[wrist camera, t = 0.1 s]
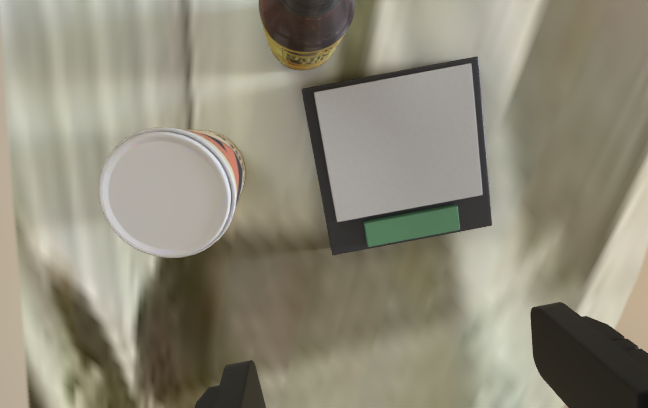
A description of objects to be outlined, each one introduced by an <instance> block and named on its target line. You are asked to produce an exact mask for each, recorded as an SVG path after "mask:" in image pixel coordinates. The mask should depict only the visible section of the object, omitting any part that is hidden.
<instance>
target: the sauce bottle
mask: <svg viewBox="0 0 648 408" xmlns="http://www.w3.org/2000/svg"><path fill="white" fill-rule="evenodd" d="M354 8H355V6H354V0H259V11H260V16H261V20H262V23H263V27H264V30H265V34H266V37H267V41H268V44H269V46H270V49H271V51H272V53H273V54H274V55H275V57H276V58H277V59H278V60H279V61H280V62H281V63H282V64H284V65H286V66H287V67H289V68H292V69H295V70H310V69H314V68H316V67H318V66H320V65H322V64H323V63H325V62H326V61H327V60H328V59H329V58H330V56H331V55H332V54H333V52H334V50H335V49H336V47H337V46H338V44H339V43H340V41H341V39H342V38H343V36H344V35H345V34H346V32H347V30H348V28H349V26H350V24H351V22H352V19H353V16H354Z"/></svg>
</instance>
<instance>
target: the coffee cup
mask: <svg viewBox="0 0 648 408" xmlns="http://www.w3.org/2000/svg"><path fill="white" fill-rule="evenodd" d="M245 175H246V169H245V164H244V160H243V157H242V155H241V153H240V152H239V150H238V148H237V147H236V146H235V145H234V144H233V143H232V142H231V141H230V140H229V139H227V138H226V137H224V136H222V135H220V134H217V133H215V132H210V131H203V130H186V129H176V128H169V127H157V128H150V129H146V130H142V131H139V132H137V133H134V134H132V135H131V136H129V137H127V138H125V139H124V140H123V141H121V142H120V143H119V144H118V145H117V146H116V147H115V148H114V149H113V150H112V152H111V153H110V154H109V156H108V157H107V159H106V161H105V163H104V165H103V168H102V171H101V176H100V182H99V197H100V203H101V207H102V210H103V213H104V215H105V217H106V219H107V221H108V223H109V224H110V226H111V227H112V229H113V230H114V231H115V233H116V234H117V235H118V236H119V237H120V238H121V239H123V240H124V241H125V242H126V243H128V244H129V245H130V246H132V247H134V248H135V249H137V250H139V251H142V252H144V253H147V254H150V255H154V256H159V257H165V258H180V257H186V256H190V255H194V254H196V253H199V252H201V251H203V250H205V249H207V248H208V247H210V246H211V245H213V244H214V243H215V242H216V241H217V240H219V238H220V237H221V236H222V235H223V234H224V232H225V231H226V230H227V228H228V226H229V224H230V222H231V220H232V218H233V214H234V211H235V207H236V204H237V202H238V199H239V197H240V194H241V191H242V189H243V186H244V182H245Z"/></svg>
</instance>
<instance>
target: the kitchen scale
mask: <svg viewBox="0 0 648 408" xmlns="http://www.w3.org/2000/svg"><path fill="white" fill-rule="evenodd" d="M302 94H303V100H304V105H305V110H306V116H307V121H308V127H309V132H310V137H311V143H312V148H313V153H314V159H315V164H316V169H317V175H318V180H319V186H320V191H321V196H322V202H323V207H324V212H325V218H326V223H327V229H328V234H329V239H330V245H331V250H332V255H337V254H342V253H348V252H353V251H358V250H364V249H369V248H374V247H380V246H385V245H390V244H396V243H401V242H406V241H412V240H417V239H422V238H428V237H433V236H438V235H444V234H449V233H454V232H460V231H465V230H470V229H476V228H481V227H486V226H491V225H492V219H491V207H490V195H489V183H488V171H487V159H486V146H485V134H484V122H483V110H482V98H481V86H480V73H479V61H478V57H472V58H466V59H461V60H456V61H450V62H445V63H439V64H434V65H429V66H423V67H418V68H412V69H407V70H402V71H396V72H391V73H385V74H380V75H375V76H369V77H364V78H358V79H353V80H348V81H342V82H337V83H331V84H326V85H321V86H315V87H310V88H305V89H302Z"/></svg>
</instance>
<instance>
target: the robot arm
mask: <svg viewBox="0 0 648 408" xmlns="http://www.w3.org/2000/svg"><path fill="white" fill-rule="evenodd" d="M531 330H532V346H533V357H534V361H535V364H536V367H537V369H538V371H539V373H540V375H541V376H542V378H543V379H544V380H545V381H546V382H547V384H548V385H549V386H550V387H551V388H552V389H553V390H554V392H555V393H556V394H557V395H558V396H559V397H560V398H561V399H562V401H563V402H564V403H565V404H566V405H567V406H568V407H569V408H648V353H647V352H645V351H643V350H642V349H639V348H638V346H637V345H635V344H634V343H632V342H631V341H630V340H628V339H625V338H624V336H622V335H621V334H620V333H619V332H617V331H616V330H614V329H613V328H612V327H610V326H609V325H607V324H605V323H602V322H600V321H597V320H595V319H592V318H590V317H587V316H585V317H581V316H580V315H578V314H577V313H576V312H574V311H573V310H572V309H570V308H569V307H568V306H566V305H565V304H564V303H561V302H558V303H553V304H548V305H542V306H537V307H533V308H532V310H531ZM195 408H266V406H265V402H264V398H263V394H262V390H261V386H260V382H259V378H258V374H257V370H256V367H255V364H254V362H253V361H252V360H250V361H245V362H240V363H235V364H230V365H226V366H225V368H224V372H223V375H222V378H221V382H220V385H219V386H214V387H209V388H208V389H207V390H206V392H205V393H204V394H203V395H202V396H201V398H200V399H199V400H198V401H197V402H196V405H195Z"/></svg>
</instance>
